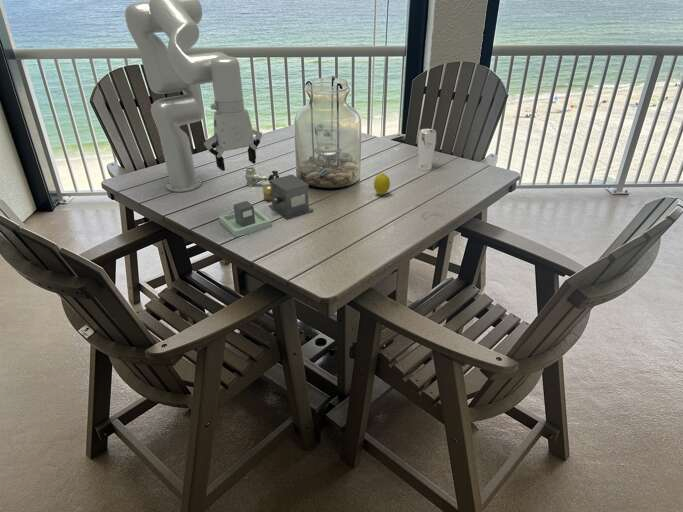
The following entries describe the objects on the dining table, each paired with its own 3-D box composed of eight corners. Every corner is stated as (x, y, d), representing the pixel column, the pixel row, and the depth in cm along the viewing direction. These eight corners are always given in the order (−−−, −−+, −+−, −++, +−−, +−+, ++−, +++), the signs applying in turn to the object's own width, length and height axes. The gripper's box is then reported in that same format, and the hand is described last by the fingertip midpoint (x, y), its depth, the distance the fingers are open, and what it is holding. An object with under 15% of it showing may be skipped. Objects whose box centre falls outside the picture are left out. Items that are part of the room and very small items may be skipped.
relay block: (235, 221, 142) (233, 204, 139) (248, 217, 145) (246, 200, 142) (242, 227, 139) (240, 209, 136) (255, 223, 142) (253, 205, 138)
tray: (220, 222, 144) (219, 216, 142) (254, 212, 149) (253, 206, 148) (236, 237, 135) (235, 231, 134) (271, 226, 141) (271, 220, 140)
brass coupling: (262, 199, 158) (260, 185, 156) (272, 196, 160) (271, 183, 158) (267, 203, 156) (266, 189, 153) (277, 200, 158) (276, 186, 155)
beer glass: (435, 166, 184) (439, 130, 176) (428, 172, 179) (432, 134, 171) (419, 163, 187) (423, 127, 179) (412, 168, 182) (415, 131, 174)
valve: (242, 187, 167) (272, 191, 164) (240, 170, 164) (271, 174, 161) (251, 181, 173) (280, 184, 170) (249, 164, 169) (278, 167, 166)
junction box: (265, 207, 152) (262, 181, 147) (294, 199, 158) (292, 173, 153) (282, 220, 144) (280, 193, 139) (313, 211, 150) (311, 184, 145)
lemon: (391, 193, 162) (392, 171, 158) (386, 198, 158) (387, 177, 154) (377, 190, 164) (377, 169, 160) (371, 196, 160) (372, 174, 156)
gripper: (204, 114, 116) (214, 176, 126) (264, 104, 125) (269, 163, 134) (194, 107, 121) (204, 168, 131) (252, 98, 130) (258, 156, 139)
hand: (237, 165), depth 132 cm, fingers open, 9 cm apart
